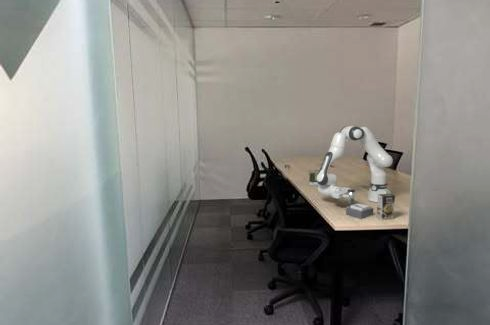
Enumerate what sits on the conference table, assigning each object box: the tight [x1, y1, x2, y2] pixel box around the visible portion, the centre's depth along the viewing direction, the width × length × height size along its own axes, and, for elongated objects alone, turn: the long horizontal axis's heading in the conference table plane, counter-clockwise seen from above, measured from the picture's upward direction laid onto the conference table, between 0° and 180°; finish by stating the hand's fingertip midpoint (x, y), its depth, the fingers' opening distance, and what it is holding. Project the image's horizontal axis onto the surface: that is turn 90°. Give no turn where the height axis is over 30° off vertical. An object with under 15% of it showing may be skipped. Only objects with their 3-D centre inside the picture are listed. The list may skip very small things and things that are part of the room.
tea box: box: [308, 169, 320, 186], centre depth 334 cm, size 15×10×15 cm, turn 84°
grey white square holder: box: [345, 203, 374, 220], centre depth 234 cm, size 14×12×6 cm
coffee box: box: [376, 193, 396, 221], centre depth 225 cm, size 9×6×16 cm
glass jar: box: [346, 188, 356, 205], centre depth 246 cm, size 5×5×10 cm
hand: (352, 195), depth 245 cm, fingers closed on glass jar, 5 cm apart
